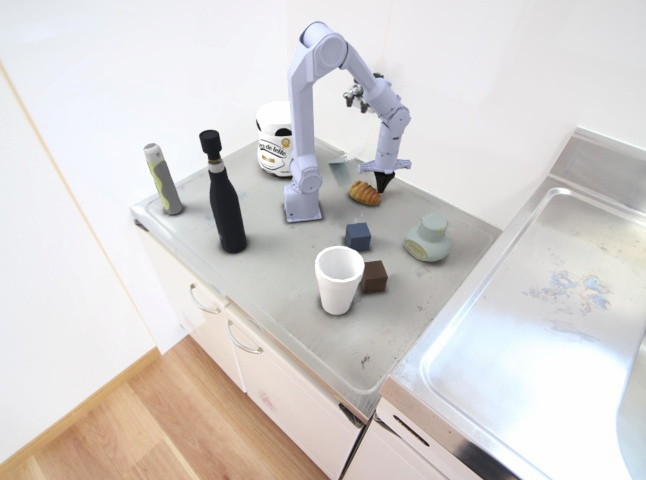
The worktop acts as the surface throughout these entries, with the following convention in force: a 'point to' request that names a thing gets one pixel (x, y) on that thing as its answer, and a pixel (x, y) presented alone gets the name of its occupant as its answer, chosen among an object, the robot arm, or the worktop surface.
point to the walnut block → (373, 277)
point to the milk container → (275, 138)
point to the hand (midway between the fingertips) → (379, 191)
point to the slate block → (358, 236)
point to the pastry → (364, 193)
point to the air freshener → (429, 238)
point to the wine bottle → (223, 196)
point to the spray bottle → (162, 178)
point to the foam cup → (338, 277)
